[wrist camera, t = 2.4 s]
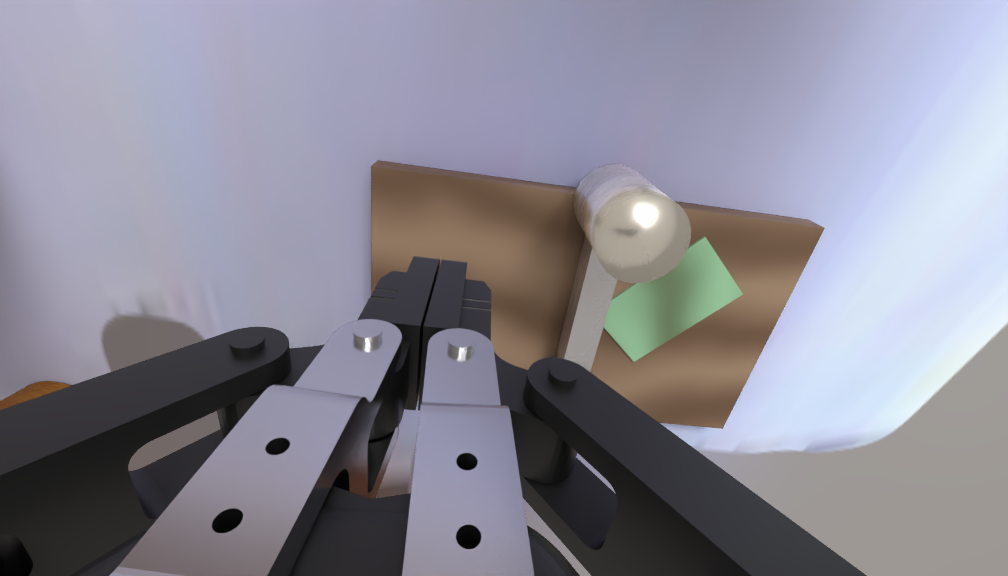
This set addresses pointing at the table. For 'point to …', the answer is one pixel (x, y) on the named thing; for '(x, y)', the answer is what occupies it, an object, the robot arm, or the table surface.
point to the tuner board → (634, 306)
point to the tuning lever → (617, 250)
